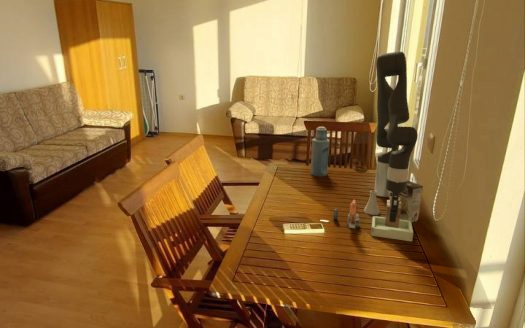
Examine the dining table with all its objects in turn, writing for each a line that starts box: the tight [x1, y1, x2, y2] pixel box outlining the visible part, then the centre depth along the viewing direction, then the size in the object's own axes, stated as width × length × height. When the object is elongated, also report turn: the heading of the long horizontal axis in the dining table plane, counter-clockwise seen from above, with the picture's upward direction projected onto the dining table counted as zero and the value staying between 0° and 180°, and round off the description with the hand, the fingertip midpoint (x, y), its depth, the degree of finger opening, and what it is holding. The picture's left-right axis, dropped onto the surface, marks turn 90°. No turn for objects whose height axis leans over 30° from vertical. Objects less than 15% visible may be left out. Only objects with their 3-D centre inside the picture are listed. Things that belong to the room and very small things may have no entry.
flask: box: [363, 190, 381, 216], centre depth 163 cm, size 7×7×10 cm
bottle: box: [310, 126, 330, 178], centre depth 208 cm, size 10×10×30 cm
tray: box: [370, 215, 414, 242], centre depth 145 cm, size 12×15×3 cm
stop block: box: [385, 199, 401, 228], centre depth 144 cm, size 5×5×9 cm
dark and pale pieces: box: [319, 208, 360, 229], centre depth 152 cm, size 6×16×5 cm, turn 72°
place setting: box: [352, 158, 367, 173], centre depth 223 cm, size 18×20×6 cm
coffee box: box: [399, 180, 424, 223], centre depth 156 cm, size 9×6×16 cm
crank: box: [347, 199, 360, 229], centre depth 145 cm, size 12×4×11 cm, turn 162°
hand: (392, 218), depth 144 cm, fingers closed on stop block, 5 cm apart
